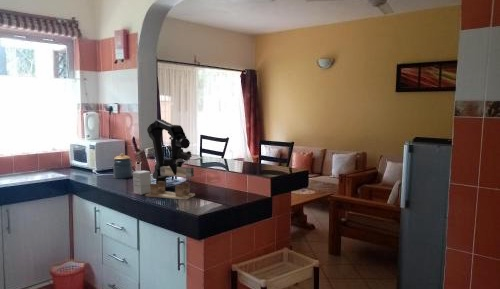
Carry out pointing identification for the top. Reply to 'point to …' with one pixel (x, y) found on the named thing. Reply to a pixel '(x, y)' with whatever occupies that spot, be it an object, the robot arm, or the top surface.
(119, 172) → the canister
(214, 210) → the top surface
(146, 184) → the supplement box
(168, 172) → the rail
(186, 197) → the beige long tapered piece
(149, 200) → the top surface
